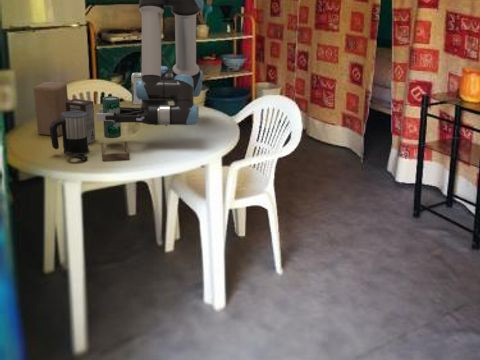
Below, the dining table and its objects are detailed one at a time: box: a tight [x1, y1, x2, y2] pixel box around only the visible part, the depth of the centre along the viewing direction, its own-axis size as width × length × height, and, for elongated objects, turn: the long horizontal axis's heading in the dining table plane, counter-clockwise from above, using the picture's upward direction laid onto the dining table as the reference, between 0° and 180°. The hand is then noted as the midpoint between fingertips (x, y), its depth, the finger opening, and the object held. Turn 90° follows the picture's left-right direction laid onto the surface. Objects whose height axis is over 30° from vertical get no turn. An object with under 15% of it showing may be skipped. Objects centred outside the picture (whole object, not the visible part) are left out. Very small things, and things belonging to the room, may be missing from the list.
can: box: [101, 95, 122, 139], centre depth 236 cm, size 6×6×15 cm
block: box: [33, 81, 69, 137], centre depth 250 cm, size 10×10×20 cm
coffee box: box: [66, 98, 96, 144], centre depth 241 cm, size 9×6×16 cm
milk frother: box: [50, 111, 90, 161], centre depth 225 cm, size 14×16×15 cm
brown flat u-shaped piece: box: [100, 141, 130, 162], centre depth 229 cm, size 10×14×2 cm
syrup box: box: [130, 72, 142, 106], centre depth 298 cm, size 6×6×14 cm
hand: (98, 114), depth 236 cm, fingers closed on can, 6 cm apart
